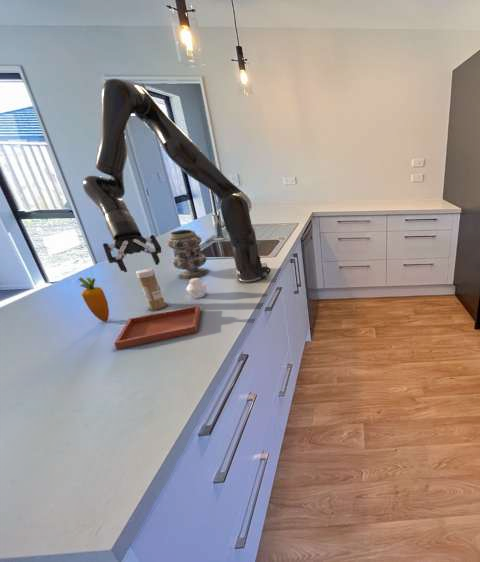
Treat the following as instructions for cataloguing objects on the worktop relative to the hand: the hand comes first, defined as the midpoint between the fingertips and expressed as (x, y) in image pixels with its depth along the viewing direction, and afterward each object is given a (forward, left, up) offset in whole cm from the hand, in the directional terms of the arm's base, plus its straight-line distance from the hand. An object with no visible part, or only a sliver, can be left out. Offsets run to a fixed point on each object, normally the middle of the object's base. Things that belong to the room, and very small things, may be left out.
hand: (141, 267), depth 97 cm
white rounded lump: (-14, +1, -13) cm, 19 cm away
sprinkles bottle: (-2, +4, -13) cm, 14 cm away
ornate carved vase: (-10, -24, -13) cm, 29 cm away
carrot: (+11, +8, -13) cm, 19 cm away
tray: (-6, +20, -13) cm, 24 cm away
